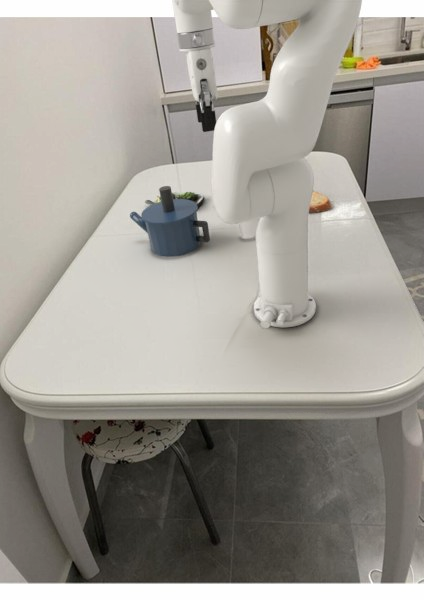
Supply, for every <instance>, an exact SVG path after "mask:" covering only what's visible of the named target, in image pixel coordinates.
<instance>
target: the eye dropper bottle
mask: <svg viewBox="0 0 424 600" xmlns="http://www.w3.org/2000/svg"><path fill="white" fill-rule="evenodd" d="M259 220H260V218H258V219H254V220H250V221H247V222H243V223H239V224H238V225H239V234H240V238H241V239H242V240H250V239H255V240H256V230H257V226H258V223H259Z"/></svg>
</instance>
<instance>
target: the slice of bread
mask: <svg viewBox="0 0 424 600" xmlns="http://www.w3.org/2000/svg"><path fill="white" fill-rule="evenodd" d="M332 206H333V205H332V203H331V200H330V199H329V198H328V196H326V195H324V194H322V193H319V192H318V191H315V190H313V193H312V198H311V202H310V208H309V214H313V213H314V214H315V213H321V212H326V211H328V210H330V209H331V208H332Z"/></svg>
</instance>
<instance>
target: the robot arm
mask: <svg viewBox="0 0 424 600" xmlns="http://www.w3.org/2000/svg"><path fill="white" fill-rule="evenodd" d="M171 2H172V9H173V15H174V22H175V28H176V29H175V30H176V35H177V42H178V49H179V52H180V53H181V52H182V53H185V58H186V59H185V60H186V65H187V72H188V79H189V83H190V88H191V92H192V96H193V98H194V100H195V109H196V118H197V123H200V124H201V130H202V132H203V133H208V132H213V137H212V138H213V139H212V159H211V161H212V162H211V186H210V187H211V201H212V205H213V209H214V211H215V213H216V216H217V217H218V218H219V219H220V221H222V222H224V223H225V224H229V225H240V224H239V223H243V222H247V221H250V220H254V219H258V218H260V220H259V223H258V226H257V230H256V239H255V245H256V247H255V248H256V259H257V272H258V273H257V274H258V284H259V296H258V297H257V298H256V299H255V300H254V303H253V313H254V316H255V318H256V319H257V320H259V321H260V322H259V325H260V327H261V328H263V329H265V330H266V329H269V328H270V327H275V328H292V327H293V328H294V327H296V326H301V325H303V324H305V323H307V322H308V321H310V320H311V319H312V318H313V317H314V316H315V314H316V311H317V303H316V301H315V298H314V297H313V296H312V295H311V294H310V293H309V215H310V213H309V208H310V202H311V198H312V193H313V191H314V185H315V176H314V170H313V167H312V165H311V163H310V162H309V160H308V159H307V158H306V157H307V156H309V155H310V154H311V152H312V151H313V150H314V148H315V146H316V143H317V141H318V138H319V134H320V131H321V128H322V126H323V125H322V124H323V121H324V117H325V114H326V110H327V107H328V104H329V100H330V97H331V93H332V89H333V84H334V81H335V78H336V75H337V72H338V69H339V68H340V65H341V63H342V60H343V58H344V56H345V54H346V51H347V50H348V47H349V45H350V43H351V41H352V38H353V35H354V33H355V30H356V27H357V24H358V20H359V17H360V12H361V9H362V3H363V0H171ZM212 11H214V12H215V14H216V15H217V17H218V18H219V19H220V21H221V22H222V23H223V24H224V25H226V26H227V27H229V28H231V29H235V30H249V29H253V28H259V27H264V26H269V25H270V26H271V25H276V24H282V23H287V22H292V21H298V25H297V26H296V28H295V29H294V30H293V31H292V32H291V34H290V35H289V37H287V39H286V40H285V41H284V43H283V45H282V46H281V48H280V50H279V52H278V53H277V54H276V57H275V58H274V61H273V63H272V66H271V70H270V75H269V85H268V89H267V92H266V94H265V96H264V97H262V98H261V99H259V100H257V101H252V102H247V103H243V104H239V105H236V106H232V107H230V108H227V109H226V110H225V111H223V112H222V113H221V114H220V115H219V117H218V119H217V117H216V116H217V115H216V110H215V105H214V101H213V99H214V100H218V98H219V92H218V85H217V80H216V79H217V78H216V72H215V65H214V59H213V54H212V48H214V47H216V44H215V35H214V28H213V27H214V26H213V25H214V24H213V17H212V16H213V15H212Z"/></svg>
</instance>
